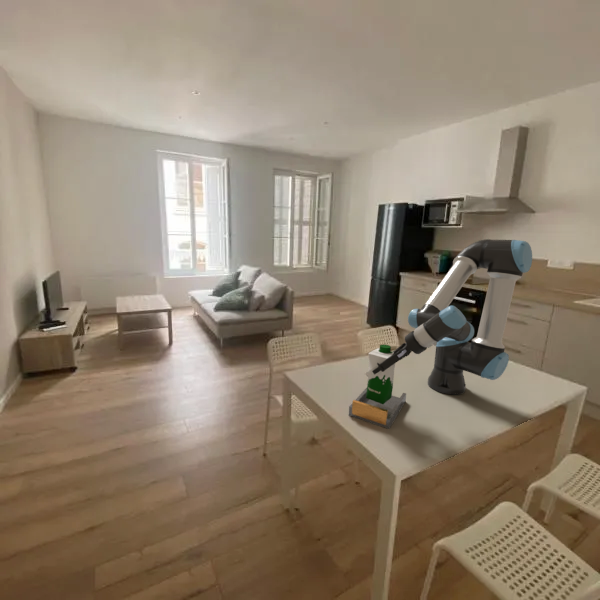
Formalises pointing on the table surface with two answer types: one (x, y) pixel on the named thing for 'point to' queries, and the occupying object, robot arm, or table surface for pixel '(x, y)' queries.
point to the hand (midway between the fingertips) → (372, 371)
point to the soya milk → (380, 376)
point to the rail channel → (377, 409)
